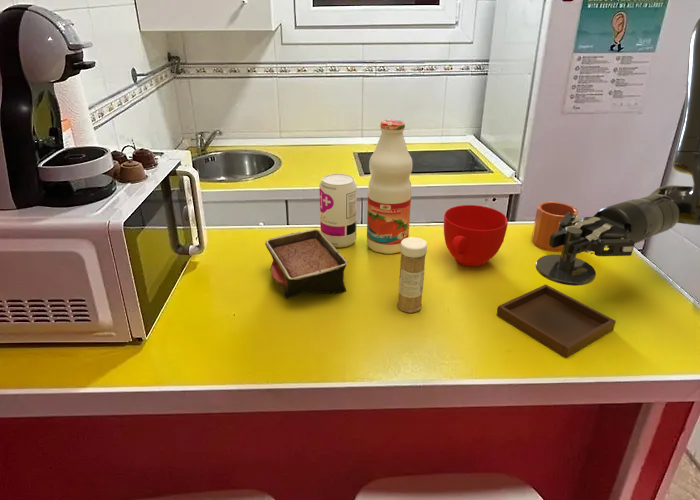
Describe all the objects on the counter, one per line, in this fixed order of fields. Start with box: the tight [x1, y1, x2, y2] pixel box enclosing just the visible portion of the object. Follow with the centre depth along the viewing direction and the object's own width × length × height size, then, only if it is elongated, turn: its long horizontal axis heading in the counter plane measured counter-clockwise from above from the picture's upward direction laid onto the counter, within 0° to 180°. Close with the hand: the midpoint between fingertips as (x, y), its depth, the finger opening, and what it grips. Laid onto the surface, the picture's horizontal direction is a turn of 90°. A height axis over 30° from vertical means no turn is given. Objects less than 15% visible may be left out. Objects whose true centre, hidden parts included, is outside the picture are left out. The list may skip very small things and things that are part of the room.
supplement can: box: [318, 173, 358, 249], centre depth 116 cm, size 8×8×15 cm
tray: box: [496, 284, 617, 359], centre depth 91 cm, size 14×13×2 cm
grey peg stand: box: [535, 227, 597, 287], centre depth 85 cm, size 9×9×8 cm
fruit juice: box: [366, 118, 413, 255], centre depth 111 cm, size 9×9×28 cm
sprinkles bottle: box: [397, 236, 428, 314], centre depth 93 cm, size 5×5×13 cm
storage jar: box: [531, 201, 579, 252], centre depth 117 cm, size 8×8×8 cm
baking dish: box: [264, 228, 349, 299], centre depth 102 cm, size 14×18×10 cm
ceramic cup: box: [443, 204, 509, 267], centre depth 108 cm, size 13×17×10 cm
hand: (559, 245), depth 83 cm, fingers closed on grey peg stand, 2 cm apart
